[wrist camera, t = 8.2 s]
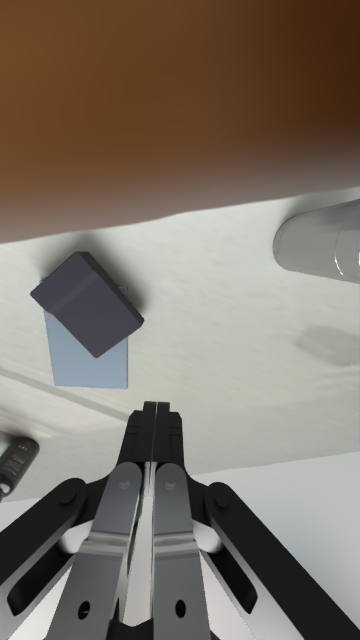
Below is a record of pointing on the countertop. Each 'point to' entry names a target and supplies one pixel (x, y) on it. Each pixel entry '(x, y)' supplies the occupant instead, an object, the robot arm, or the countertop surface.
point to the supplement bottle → (15, 463)
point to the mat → (84, 359)
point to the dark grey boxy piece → (88, 304)
